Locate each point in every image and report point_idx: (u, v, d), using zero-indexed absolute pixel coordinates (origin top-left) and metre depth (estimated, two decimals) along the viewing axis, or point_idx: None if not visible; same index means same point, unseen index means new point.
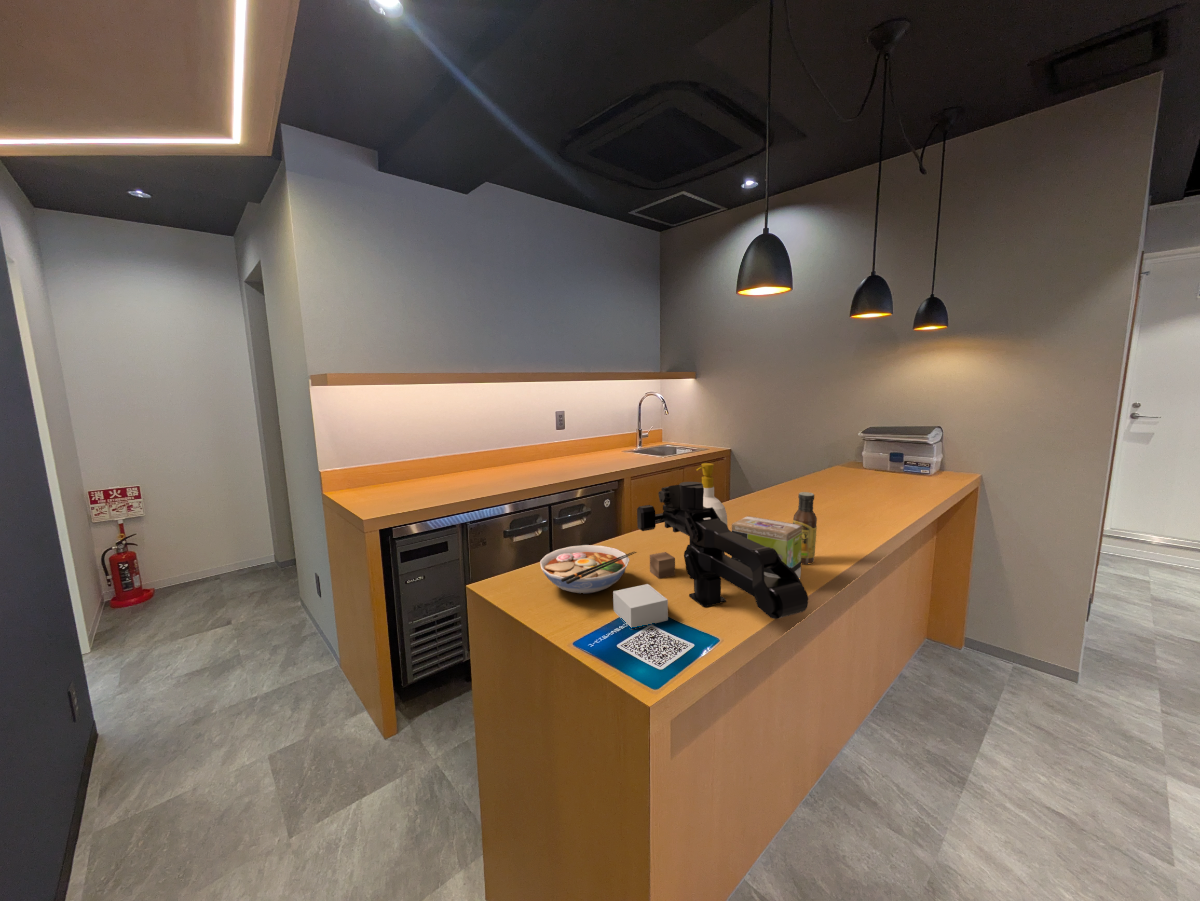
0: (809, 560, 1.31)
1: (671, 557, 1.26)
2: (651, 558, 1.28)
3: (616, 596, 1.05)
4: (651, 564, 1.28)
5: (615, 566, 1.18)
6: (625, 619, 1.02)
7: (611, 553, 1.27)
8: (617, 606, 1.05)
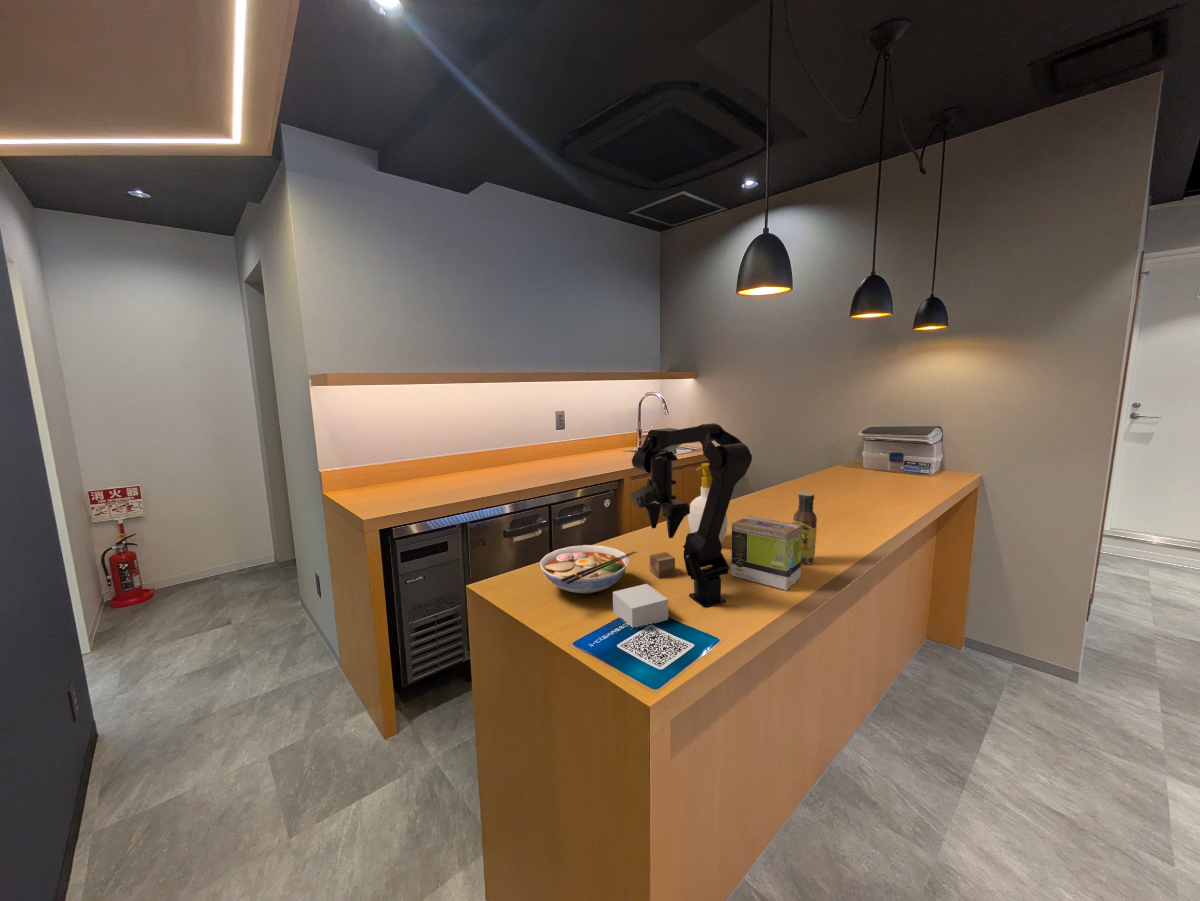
0: (809, 560, 1.31)
1: (671, 557, 1.26)
2: (651, 558, 1.28)
3: (616, 596, 1.05)
4: (651, 564, 1.28)
5: (615, 566, 1.18)
6: (626, 619, 1.02)
7: (611, 553, 1.27)
8: (617, 606, 1.05)
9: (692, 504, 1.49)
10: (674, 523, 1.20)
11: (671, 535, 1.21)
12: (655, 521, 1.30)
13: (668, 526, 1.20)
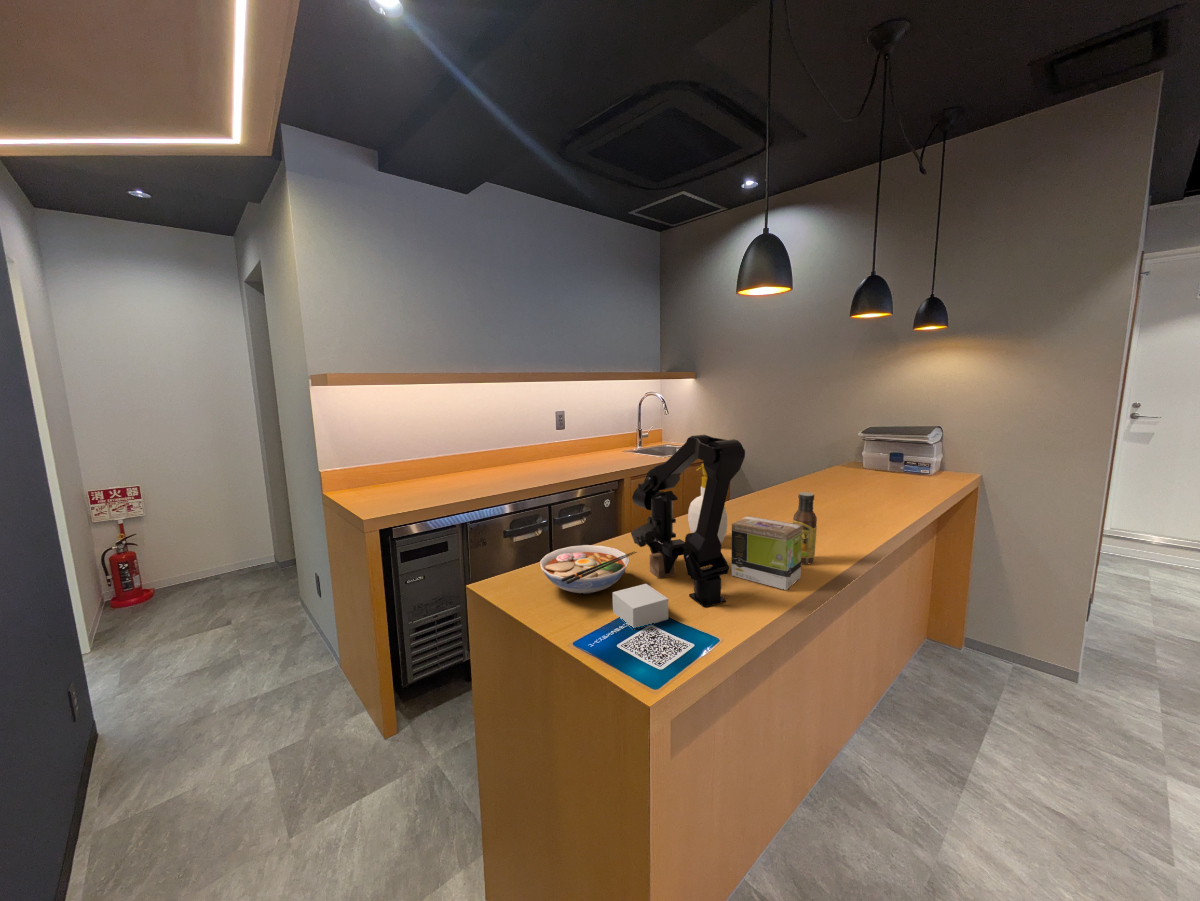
0: (809, 560, 1.31)
1: None
2: (651, 558, 1.27)
3: (616, 597, 1.05)
4: (651, 564, 1.28)
5: (615, 566, 1.18)
6: (626, 620, 1.02)
7: (611, 553, 1.27)
8: (617, 606, 1.05)
9: (692, 504, 1.49)
10: (670, 559, 1.24)
11: (667, 571, 1.25)
12: None
13: (664, 562, 1.23)
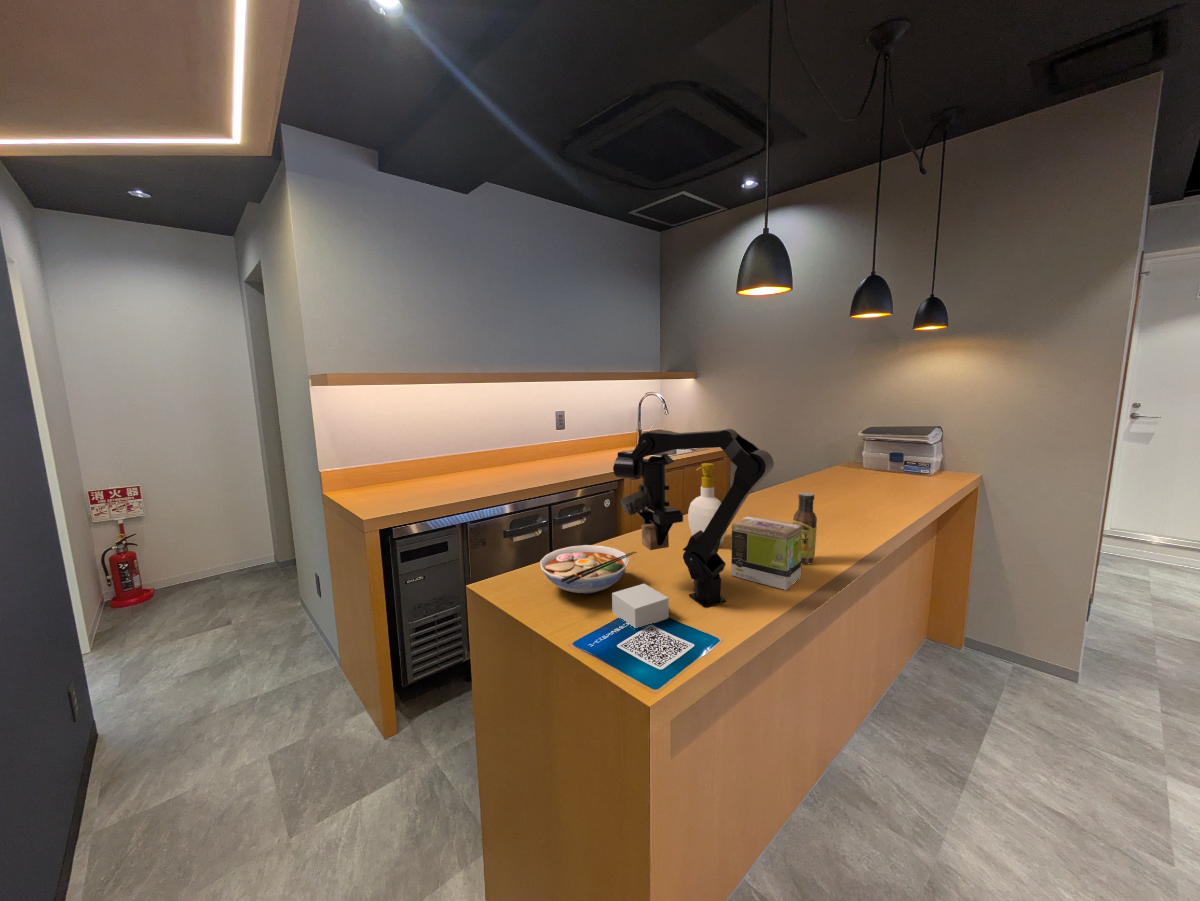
0: (809, 560, 1.31)
1: None
2: (643, 528, 1.18)
3: (616, 597, 1.05)
4: (643, 535, 1.19)
5: (615, 566, 1.18)
6: (627, 620, 1.01)
7: (611, 553, 1.27)
8: (617, 607, 1.05)
9: (692, 504, 1.49)
10: (663, 529, 1.14)
11: (660, 542, 1.15)
12: None
13: (656, 532, 1.14)
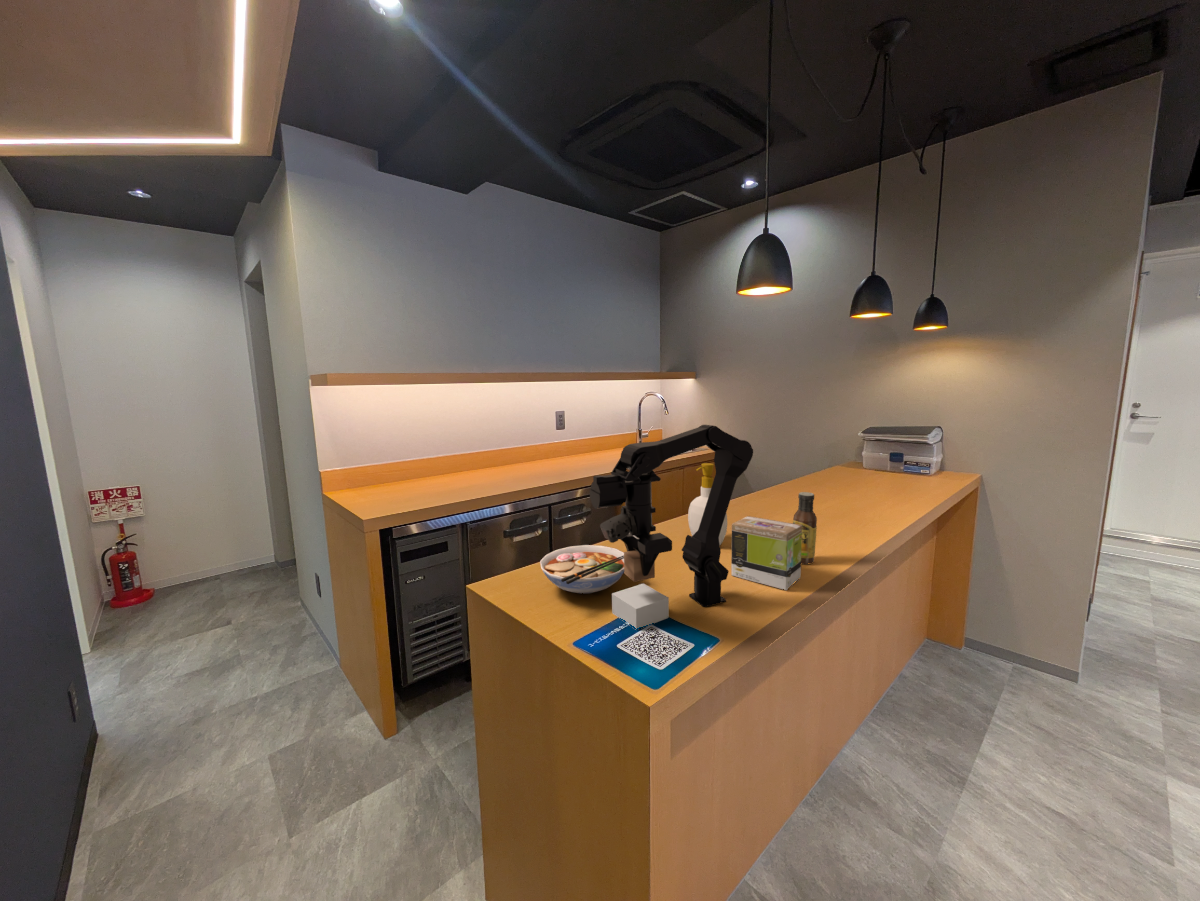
0: (809, 560, 1.31)
1: None
2: (625, 556, 1.04)
3: (616, 598, 1.04)
4: (626, 564, 1.04)
5: (615, 566, 1.18)
6: (628, 620, 1.01)
7: (611, 553, 1.27)
8: (617, 608, 1.04)
9: (692, 504, 1.49)
10: (649, 558, 1.00)
11: (645, 572, 1.01)
12: None
13: (641, 562, 1.00)
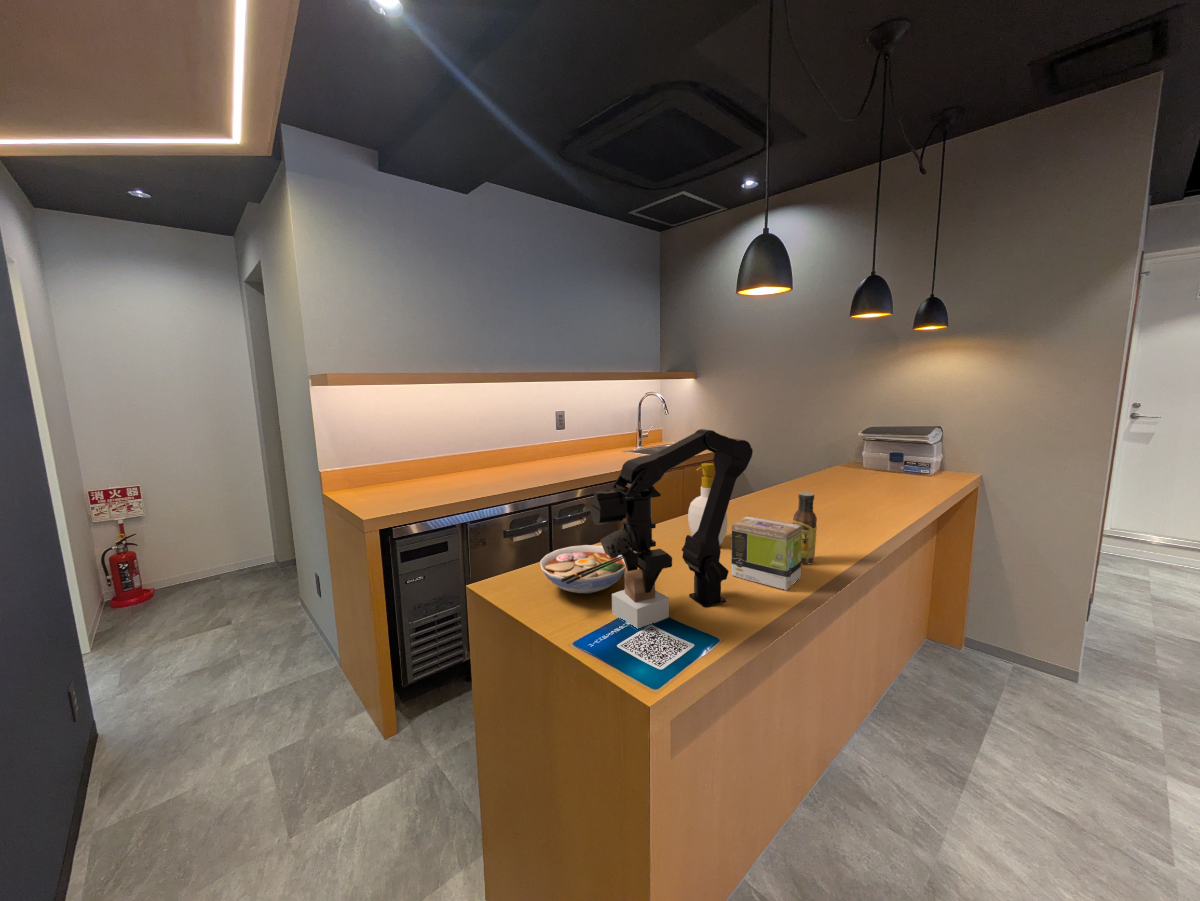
0: (809, 560, 1.31)
1: None
2: (626, 576, 1.04)
3: (616, 598, 1.04)
4: (626, 583, 1.05)
5: (615, 566, 1.18)
6: (629, 621, 1.01)
7: None
8: (618, 608, 1.04)
9: (692, 504, 1.49)
10: (651, 575, 0.99)
11: (648, 589, 1.00)
12: None
13: (644, 579, 0.99)
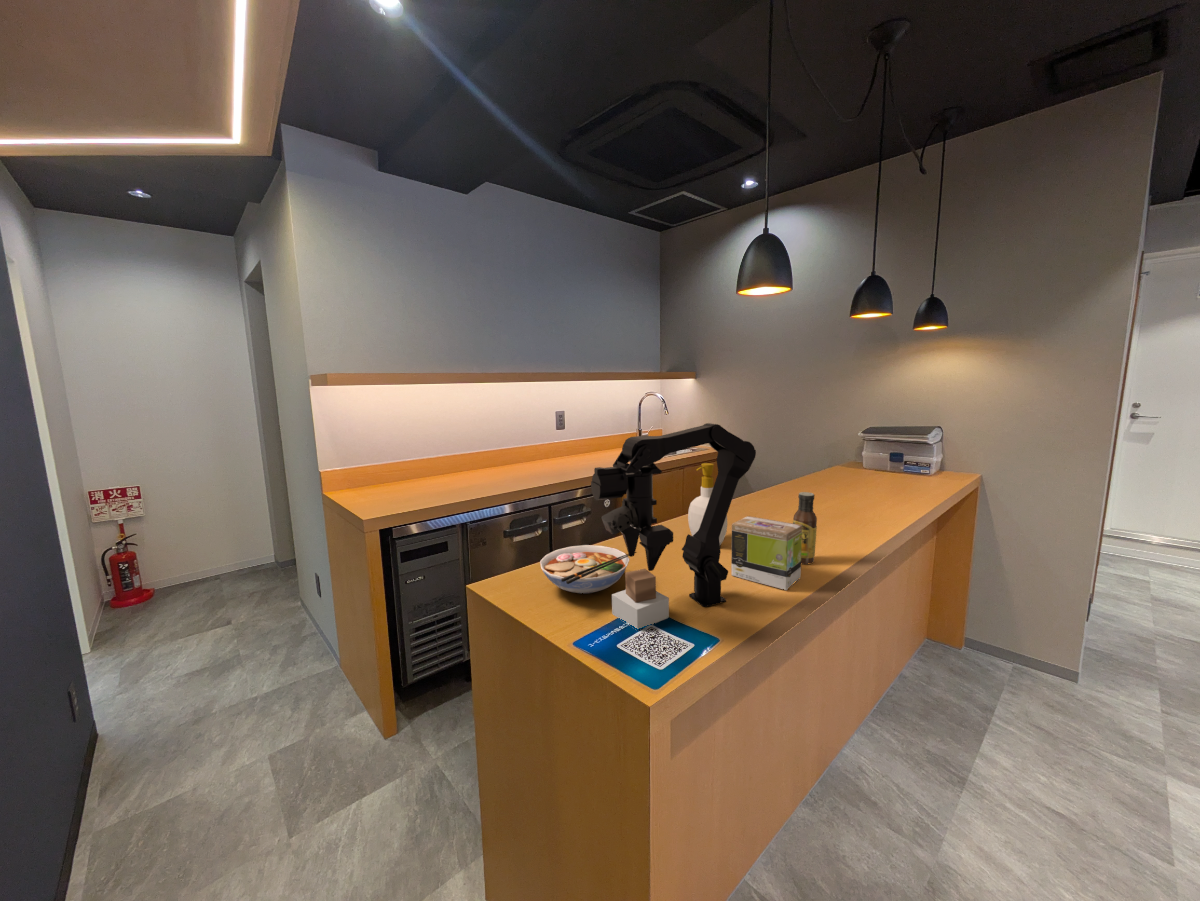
0: (809, 560, 1.31)
1: (651, 576, 1.03)
2: (627, 577, 1.04)
3: (616, 599, 1.04)
4: (627, 584, 1.05)
5: (615, 566, 1.18)
6: (629, 621, 1.01)
7: (611, 553, 1.27)
8: (618, 608, 1.04)
9: (692, 504, 1.49)
10: (654, 553, 0.99)
11: (651, 567, 1.00)
12: (633, 548, 1.08)
13: (647, 557, 0.99)
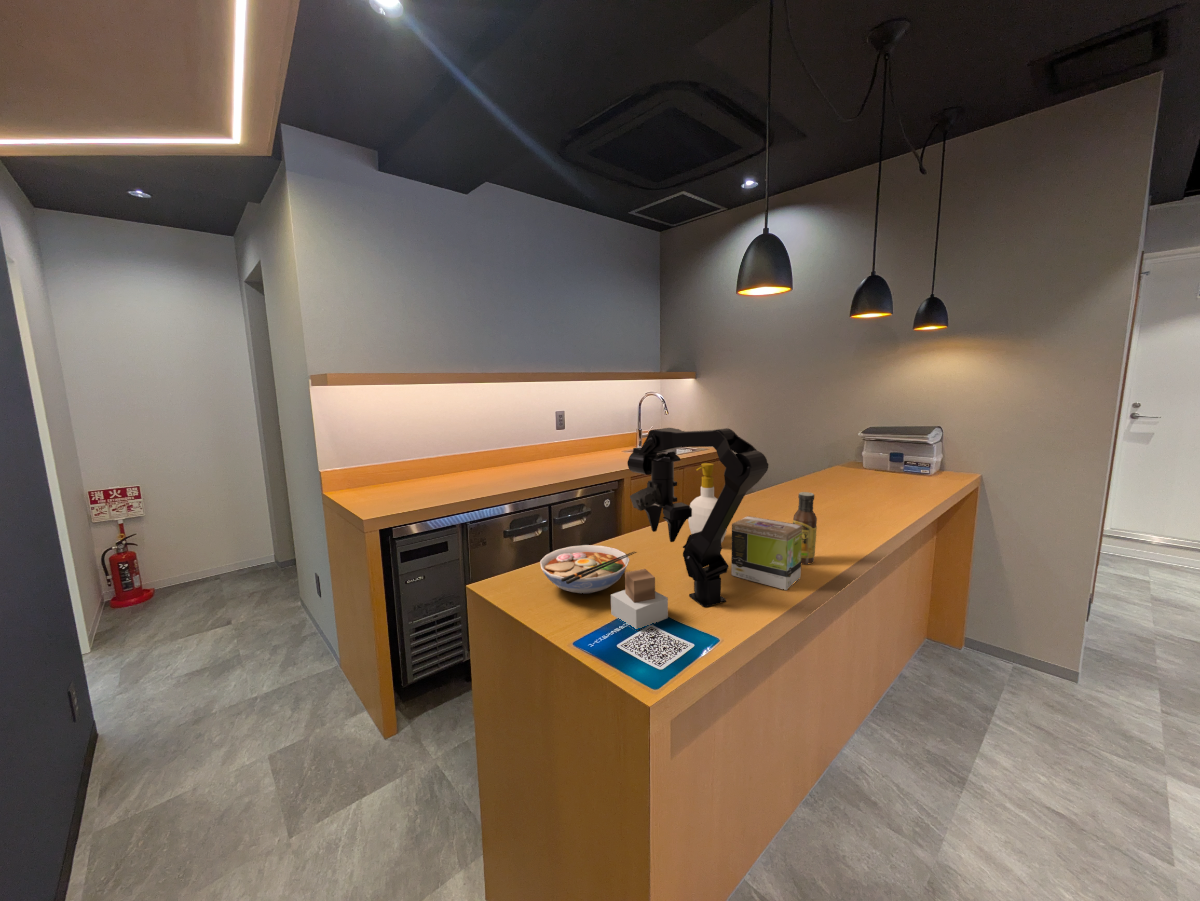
0: (809, 560, 1.31)
1: (650, 576, 1.03)
2: (626, 577, 1.04)
3: (615, 599, 1.04)
4: (626, 584, 1.05)
5: (615, 566, 1.18)
6: (628, 621, 1.01)
7: (611, 553, 1.27)
8: (617, 609, 1.04)
9: (692, 504, 1.49)
10: (675, 526, 1.16)
11: (672, 539, 1.17)
12: (656, 524, 1.26)
13: (669, 529, 1.16)
